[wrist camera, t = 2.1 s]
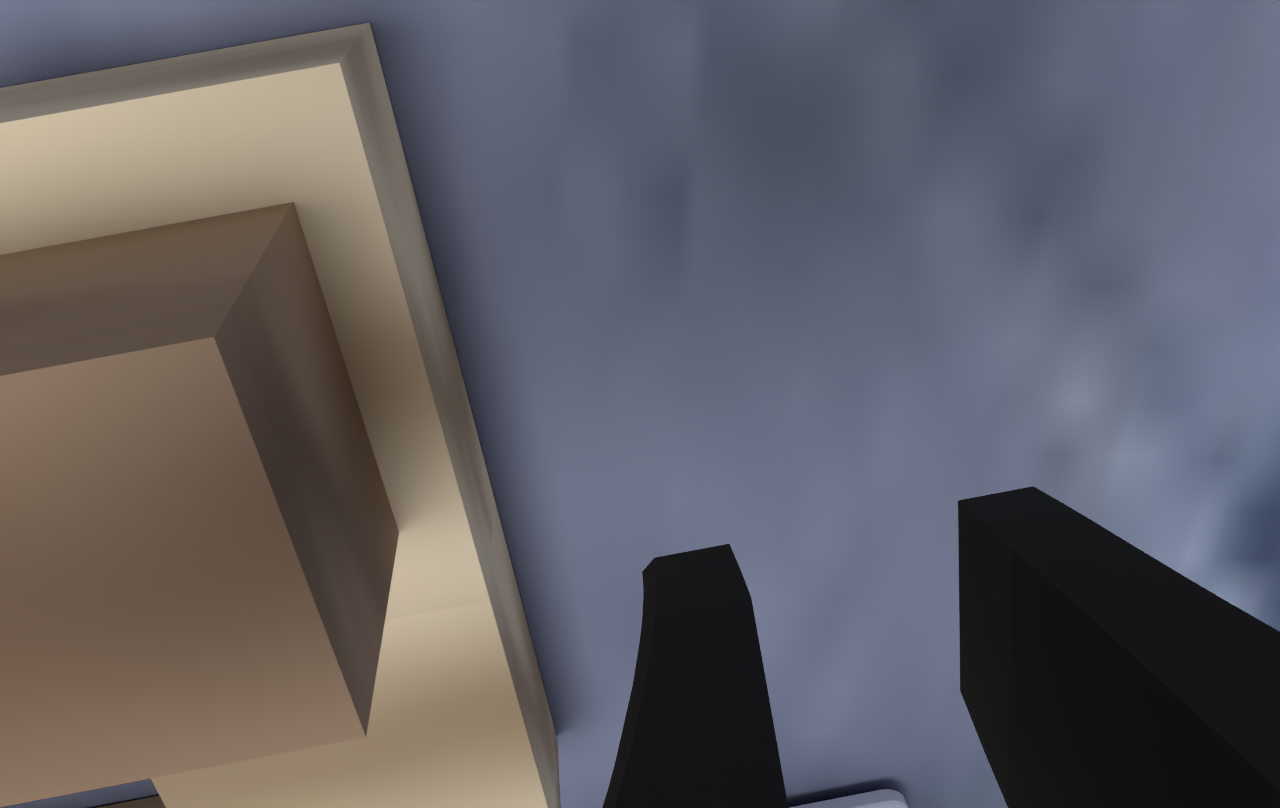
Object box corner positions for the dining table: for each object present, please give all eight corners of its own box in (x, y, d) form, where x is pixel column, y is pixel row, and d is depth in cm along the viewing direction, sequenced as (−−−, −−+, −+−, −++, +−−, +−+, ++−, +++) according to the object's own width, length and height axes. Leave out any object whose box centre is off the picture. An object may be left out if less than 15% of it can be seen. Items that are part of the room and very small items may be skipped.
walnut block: (399, 532, 16) (366, 737, 12) (54, 597, 15) (-81, 822, 12) (293, 201, 13) (213, 336, 10) (-115, 276, 13) (-346, 438, 10)
